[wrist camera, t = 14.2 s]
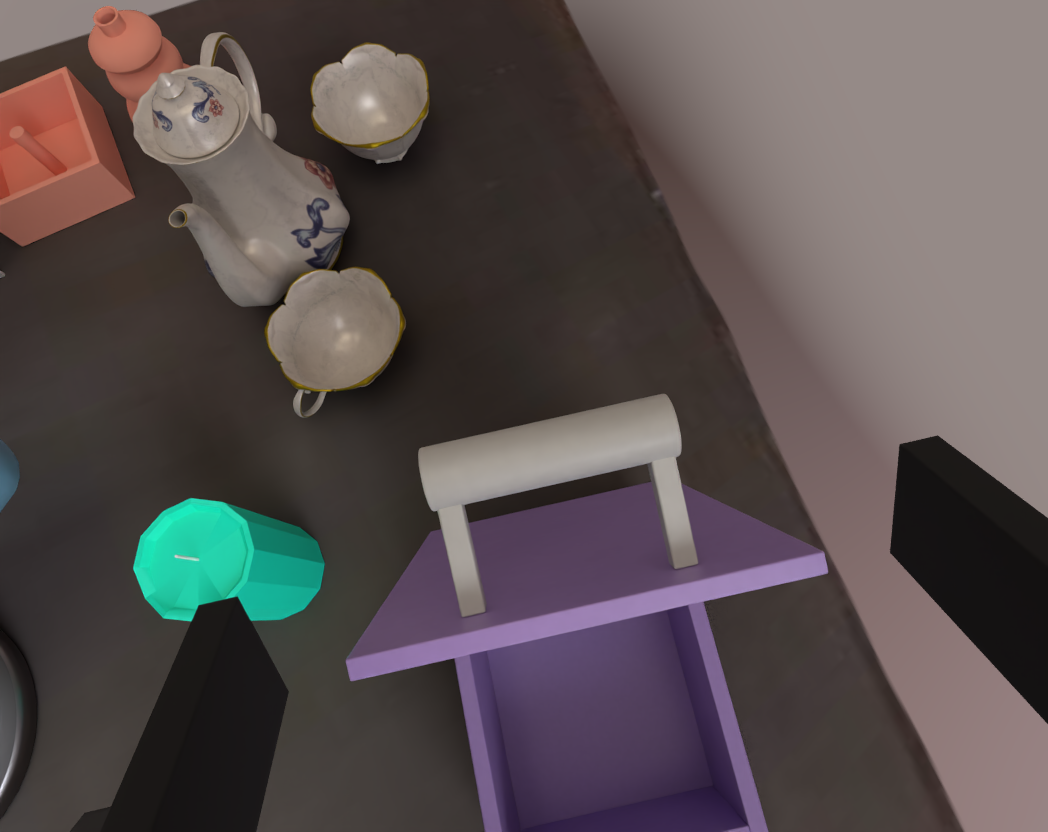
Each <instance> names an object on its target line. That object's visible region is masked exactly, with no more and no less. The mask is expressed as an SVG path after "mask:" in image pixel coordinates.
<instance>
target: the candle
mask: <svg viewBox="0 0 1048 832" xmlns="http://www.w3.org/2000/svg"><path fill="white" fill-rule="evenodd" d="M324 566H325V563H324V560H323V557H322V554H321V551H320V548H319V545H318V542H317V541H316V540H315V539H314V538H312V537H311V536H310V535H309V534H307V533H306V532H305V531H304V530H302V529H301V528H300V527H298V526H295V525H292V524H288V523H285V522H282V521H279V520H276V519H273V518H270V517H267V516H264V515H261V514H258V513H255V512H252V511H249V510H246V509H243V508H239V507H236V506H233V505H230V504H227V503H224V502H218V501H210V500H202V499H194V498H190V499H188V500H186V501H183V502H181V503H179V504H177V505H175V506H173V507H171V508H169V509H167V510H165V511H163V512H162V513H161V514H160V515H159V516H158V517H157V519H156V520H155V521H154V522H153V523H152V524H151V525H150V526H149V528H148V529H147V530H146V531H145V532H144V533H143V534H142V535H141V537H140V541H139V545H138V550H137V554H136V558H135V563H134V567H133V569H134V572H135V574H136V577H137V579H138V582H139V584H140V587H141V589H142V592H143V594H144V597H145V599H146V600H147V601H148V602H149V603H150V604H151V605H152V606H153V608H154V609H155V610H156V611H157V612H158V613H159V614H160V615H161V616H162V617H163V618H166V619H175V620H184V621H192V619H193V617H194V615H195V612H196V610H197V608H198V605H202V604H206V603H211V602H215V601H219V600H224V599H228V598H232V597H237V596H238V598H239V600H240V602H241V604H242V605H243V607H244V609H245V611H246V613H247V615H248V617H249V619H250V620H251V621H253V620H282V619H284V618H286V617H288V616H291V615H293V614H295V613H297V612H300V611H302V610H304V609H305V608H306V606H307V605H308V604H309V603H310V601H311V600H312V599H313V597H314V596H315V595H316V594H317V592H318V591H319V590H320V587H321V582H322V577H323V571H324Z"/></svg>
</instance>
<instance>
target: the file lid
mask: <svg viewBox="0 0 1048 832" xmlns="http://www.w3.org/2000/svg"><path fill="white" fill-rule="evenodd" d="M680 454H681V434H680V429H679V424H678V420H677V416H676V413H675V410H674V407H673V405H672V403H671V401H670V399H669V398H668V396H667V395H666V394H659V395H655V396H650V397H646V398H641V399H637V400H633V401H628V402H624V403H619V404H615V405H610V406H606V407H601V408H597V409H592V410H588V411H583V412H579V413H574V414H570V415H566V416H561V417H557V418H552V419H548V420H543V421H539V422H534V423H530V424H525V425H521V426H516V427H512V428H507V429H503V430H499V431H494V432H490V433H485V434H481V435H476V436H472V437H467V438H463V439H458V440H454V441H449V442H445V443H440V444H436V445H432V446H427V447H423V448H420V449H419V453H418V461H419V470H420V476H421V481H422V485H423V489H424V493H425V496H426V499H427V502H428V504H429V507H430V508H431V510H432V511H438V516H439V520H440V525H441V529H440V530H436V531H431V532H430V534H429V535H428V537H427V538H426V540H425V541H424V543H423V544H422V546H421V547H420V549H419V550H418V552H417V553H416V555H415V556H414V558H413V559H412V561H411V562H410V564H409V565H408V567H407V568H406V570H405V571H404V573H403V574H402V576H401V577H400V579H399V580H398V582H397V583H396V585H395V586H394V588H393V589H392V591H391V592H390V594H389V595H388V597H387V598H386V600H385V601H384V603H383V604H382V606H381V607H380V609H379V610H378V612H377V613H376V615H375V616H374V618H373V619H372V621H371V622H370V624H369V626H368V627H367V629H366V630H365V632H364V633H363V635H362V636H361V638H360V639H359V641H358V642H357V644H356V645H355V647H354V648H353V650H352V651H351V653H350V654H349V656H348V657H347V659H346V665H347V669H348V673H349V678H350V680H351V681H355V680H360V679H364V678H369V677H373V676H377V675H382V674H386V673H391V672H395V671H399V670H404V669H408V668H413V667H417V666H421V665H426V664H430V663H435V662H439V661H444V660H448V659H452V658H457V657H461V656H466V655H470V654H474V653H479V652H483V651H488V650H492V649H496V648H501V647H505V646H510V645H514V644H519V643H523V642H527V641H532V640H536V639H541V638H545V637H549V636H554V635H558V634H563V633H567V632H571V631H576V630H580V629H585V628H589V627H594V626H598V625H602V624H607V623H611V622H616V621H620V620H624V619H629V618H633V617H638V616H642V615H646V614H651V613H655V612H660V611H664V610H669V609H673V608H677V607H682V606H686V605H691V604H695V603H699V602H704V601H708V600H713V599H717V598H721V597H726V596H730V595H735V594H739V593H744V592H748V591H752V590H757V589H761V588H766V587H770V586H774V585H779V584H783V583H788V582H792V581H796V580H801V579H805V578H810V577H814V576H819V575H823V574H827V573H828V568H827V564H826V559H825V554H824V552H823V551H821V550H819V549H817V548H815V547H813V546H811V545H809V544H807V543H805V542H802V541H800V540H798V539H796V538H794V537H792V536H790V535H788V534H786V533H784V532H782V531H779V530H777V529H775V528H773V527H771V526H769V525H767V524H765V523H763V522H761V521H759V520H757V519H754V518H752V517H750V516H748V515H746V514H744V513H742V512H740V511H738V510H736V509H734V508H731V507H729V506H727V505H725V504H723V503H721V502H719V501H717V500H715V499H713V498H711V497H709V496H706V495H704V494H702V493H700V492H698V491H696V490H694V489H692V488H690V487H688V486H686V485H683V484H681V480H680V476H679V471H678V467H677V462H676V458H675V457H678V456H679V455H680ZM643 464H647V465H648V469H649V474H650V478H651V482H649V483H645V484H640V485H636V486H631V487H627V488H622V489H618V490H613V491H609V492H605V493H600V494H596V495H591V496H587V497H582V498H578V499H573V500H569V501H565V502H560V503H556V504H551V505H547V506H542V507H538V508H533V509H529V510H525V511H520V512H516V513H511V514H507V515H502V516H498V517H493V518H489V519H485V520H480V521H476V522H471V523H468V519H467V514H466V510H465V504H470V503H474V502H479V501H483V500H487V499H492V498H496V497H501V496H505V495H510V494H514V493H519V492H523V491H527V490H532V489H536V488H541V487H545V486H550V485H554V484H559V483H563V482H567V481H572V480H576V479H581V478H585V477H590V476H594V475H599V474H603V473H608V472H612V471H616V470H621V469H625V468H630V467H634V466H639V465H643Z"/></svg>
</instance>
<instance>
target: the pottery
mask: <svg viewBox="0 0 1048 832" xmlns="http://www.w3.org/2000/svg"><path fill="white" fill-rule="evenodd" d="M93 20H94V22H95V24H96V25H95V26H94V28H93V29H92V31H91V34H90V36H89V41H88V47H89V51H90V53H91V56H92V58H93V60H94V61H95V63H96V64H97V65H98V66H99V67H100V68H102V69H104V70H106V74H107V77H108V79H109V82H110V84H111V85H112V86H113V88H114V89H115V90H116V91H117V92H118V93H120V94H121V95H122V96H123V97H125V98H126V100H127V109H128V112H129V115H130V118H131V120H132V122H133V115H134V113H135V111H136V109H137V107H138V102H139V99H140V98H141V96H143V95H144V94H145V93H146V92H147V91H148V90H149V89H150V87H151V86H152V84H153V83H154V82H155V81H157V79H158V76H159V75H160V74H161V73H171V72H172V71H174V70H177V69H185V68H189V67H191V66H189V65H187V64H184V63H183V60H182V58H181V55H180V54H179V52H178V50H177V48H176V47H175V46H174V45H173V44H172V43H171V42H170V41H169V40H167V39H166V38H165V37H163V36H161V31H160V28H159V26H158V25H157V24H156V23H155V22H154V21H153V20H152V19H151V18H150V17H149V16H147V15H146V14H144V13H142V12H139V11H134V10H121V11H117V10H116V8H114V7H111V6H106V7H102V8H100V9H99V10H97V12H96V13H95V15H94V17H93ZM133 198H136V197H135V195H134V192H133V189H132V186H131V184H130V181H129V178H128V176H127V173H126V170H125V167H124V165H123V162H122V159H121V156H120V154H119V151H118V148H117V146H116V143H115V140H114V137H113V135H112V132H111V129H110V126H109V124H108V121H107V118H106V116H105V113H104V110H103V107H102V106H101V105H100V104H99V103H98V102H97V101H96V99H95V98H94V97H93V96H92V95H91V94H90V93H89V92H88V91H87V89H86V88H85V87H84V86H83V85H82V84H81V83H80V82H79V81H78V80H77V78H76V77H75V76H74V75H73V74H72V73H71V72H70V71H69V70H68V69H67V67H63V68H61V69H58V70H56V71H53V72H51V73H49V74H46V75H44V76H41V77H39V78H37V79H34V80H32V81H29V82H27V83H25V84H22V85H20V86H17V87H15V88H13V89H10V90H8V91H5V92H3V93H1V94H0V232H1V233H3V234H4V235H6V236H7V237H9V238H10V239H11V240H13V241H14V242H16V243H17V244H19V245H20V246H22V247H23V246H26V245H28V244H30V243H33V242H35V241H37V240H39V239H42V238H44V237H46V236H49V235H51V234H53V233H55V232H58V231H60V230H62V229H65V228H67V227H69V226H72V225H74V224H76V223H78V222H81V221H83V220H85V219H88V218H90V217H92V216H94V215H97V214H99V213H101V212H104V211H106V210H108V209H111V208H113V207H115V206H117V205H120V204H122V203H124V202H127V201H129V200H131V199H133Z"/></svg>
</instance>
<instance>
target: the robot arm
mask: <svg viewBox="0 0 1048 832" xmlns="http://www.w3.org/2000/svg"><path fill="white" fill-rule="evenodd" d="M19 478H20V471H19V463H18V460H17V458H16V456H15V455H14V453H13V452H12V451H11V449H10V448H9V447H8V446H7V445H6V444H5V443H4V442H3V441H2V440H1V439H0V512H1V511H2V509H3V508H4V507H5V505H6V504H7V502H8V501H9V500H10V498H11V497H12V496H13V494H14V493H15V491H16V489H17V486H18V483H19ZM890 553H891V554H892V555H893V556H894V557H895V558H896V559H897V560H898V562H899V563H900V564H901V565H902V566H903V567H904V568H905V569H906V570H907V572H908V573H909V574H910V575H911V576H912V577H913V578H914V579H915V580H916V581H917V582H918V583H919V584H920V586H921V587H922V588H923V589H924V590H925V591H926V592H927V593H928V594H929V595H930V596H931V598H932V599H933V600H934V601H935V602H936V603H937V604H938V605H939V606H940V607H941V608H942V610H943V611H944V612H945V613H946V614H947V615H948V616H949V617H950V618H951V619H952V620H953V621H954V623H955V624H956V625H957V626H958V627H959V628H960V629H961V630H962V631H963V632H964V633H965V635H966V636H967V637H968V638H969V639H970V640H971V641H972V642H973V643H974V644H975V645H976V647H977V648H978V649H979V650H980V651H981V652H982V653H983V654H984V655H985V656H986V657H987V658H988V660H990V662H991V663H992V664H993V665H994V666H995V667H996V668H997V669H998V670H999V671H1000V673H1001V674H1002V675H1003V676H1004V677H1005V678H1006V679H1007V680H1008V681H1009V682H1010V683H1011V685H1012V686H1013V687H1014V688H1015V689H1016V690H1017V691H1018V692H1019V693H1020V694H1021V695H1022V696H1023V697H1024V699H1026V701H1027V702H1028V703H1029V704H1030V705H1031V706H1032V707H1033V708H1034V710H1035V711H1036V712H1037V713H1038V714H1039V715H1040V716H1041V717H1042V718H1043V719H1044V720H1045V722H1046V723H1047V724H1048V518H1047V517H1045V516H1044V515H1043V514H1042V513H1040V512H1039V511H1037V510H1036V509H1035V508H1034V507H1032V506H1031V505H1030V504H1028V503H1027V502H1026V501H1024V500H1023V499H1022V498H1020V497H1019V496H1017V495H1016V494H1015V493H1014V492H1012V491H1011V490H1010V489H1008V488H1007V487H1006V486H1004V485H1003V484H1002V483H1000V482H999V481H997V480H996V479H995V478H994V477H992V476H991V475H990V474H988V473H987V472H986V471H984V470H983V469H982V468H980V467H979V466H978V465H976V464H975V463H974V462H972V461H971V460H970V459H968V458H967V457H966V456H964V455H963V454H962V453H960V452H959V451H958V450H956V449H955V448H954V447H952V446H951V445H950V444H948V443H947V442H946V441H944V440H943V439H942V438H940V437H939V436H934V437H930V438H925V439H921V440H917V441H912V442H908V443H903V444H900V446H899V457H898V468H897V480H896V492H895V502H894V515H893V525H892V537H891V548H890ZM288 692H289V691H288V689H287V687H286V686H285V684H284V682H283V680H282V678H281V676H280V674H279V673H278V671H277V669H276V667H275V665H274V663H273V661H272V660H271V658H270V656H269V654H268V652H267V650H266V648H265V646H264V645H263V643H262V641H261V639H260V637H259V635H258V633H257V632H256V630H255V628H254V626H253V624H252V622H251V620H250V619H249V617H248V615H247V613H246V611H245V609H244V607H243V605H242V604H241V602H240V600H239V598H238V596H237V597H232V598H228V599H224V600H219V601H215V602H211V603H206V604H202V605H198V608H197V610H196V612H195V615H194V617H193V619H192V621H191V624H190V626H189V628H188V631H187V633H186V635H185V638H184V640H183V642H182V644H181V647H180V649H179V651H178V654H177V656H176V658H175V661H174V663H173V665H172V668H171V670H170V672H169V674H168V677H167V679H166V681H165V684H164V686H163V688H162V691H161V693H160V695H159V697H158V700H157V702H156V704H155V707H154V709H153V711H152V714H151V716H150V718H149V720H148V723H147V725H146V727H145V730H144V732H143V734H142V737H141V739H140V741H139V744H138V746H137V748H136V750H135V753H134V755H133V757H132V760H131V762H130V764H129V767H128V769H127V771H126V773H125V776H124V778H123V780H122V783H121V785H120V787H119V790H118V792H117V794H116V796H115V799H114V801H113V803H112V806H111V807H108V808H103V809H99V810H95V811H90V812H86V813H84V814H83V816H82V817H81V818H80V819H79V821H78V822H77V823H76V825H75V826H74V827H73V828H72V830H71V831H70V832H256V830H257V826H258V821H259V817H260V813H261V808H262V804H263V800H264V795H265V791H266V787H267V783H268V778H269V774H270V770H271V765H272V761H273V757H274V752H275V748H276V744H277V740H278V735H279V731H280V727H281V722H282V718H283V714H284V709H285V705H286V701H287V697H288ZM36 725H37V705H36V695H35V689H34V684H33V681H32V677H31V674H30V671H29V668H28V666H27V663H26V662H25V660H24V658H23V656H22V654H21V652H20V651H19V649H18V648H17V647H16V645H15V644H14V643H13V642H12V640H11V639H10V638H9V637H8V636H7V635H6V634H5V633H4V632H2V631H1V630H0V818H1V817H2V816H3V814H4V813H5V811H6V810H7V808H8V807H9V805H10V804H11V802H12V800H13V798H14V796H15V795H16V793H17V791H18V789H19V787H20V785H21V782H22V780H23V778H24V776H25V773H26V770H27V767H28V765H29V761H30V758H31V754H32V751H33V746H34V740H35V734H36Z"/></svg>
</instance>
